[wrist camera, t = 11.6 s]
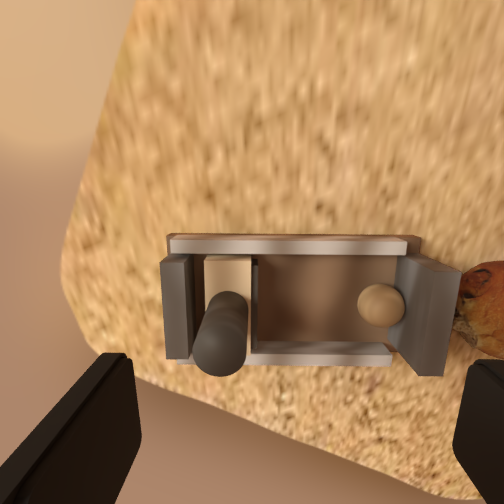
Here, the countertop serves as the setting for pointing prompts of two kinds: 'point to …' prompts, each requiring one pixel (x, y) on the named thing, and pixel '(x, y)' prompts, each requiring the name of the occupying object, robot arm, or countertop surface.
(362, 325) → the base
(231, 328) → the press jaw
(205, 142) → the countertop surface
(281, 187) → the countertop surface
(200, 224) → the countertop surface
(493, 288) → the bread roll
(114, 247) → the countertop surface
